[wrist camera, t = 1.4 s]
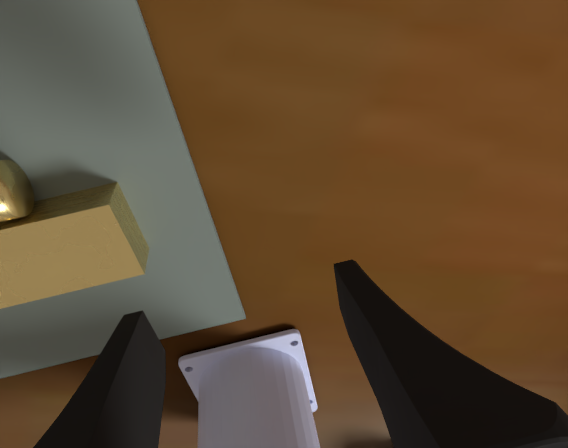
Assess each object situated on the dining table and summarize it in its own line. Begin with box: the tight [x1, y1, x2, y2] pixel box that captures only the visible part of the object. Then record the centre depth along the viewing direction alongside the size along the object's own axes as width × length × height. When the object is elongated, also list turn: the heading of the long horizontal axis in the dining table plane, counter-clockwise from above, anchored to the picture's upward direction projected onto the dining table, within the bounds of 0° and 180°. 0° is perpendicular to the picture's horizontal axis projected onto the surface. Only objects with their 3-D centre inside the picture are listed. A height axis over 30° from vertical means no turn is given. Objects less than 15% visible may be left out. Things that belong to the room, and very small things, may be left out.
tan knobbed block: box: [0, 160, 149, 309], centre depth 18 cm, size 9×6×2 cm
